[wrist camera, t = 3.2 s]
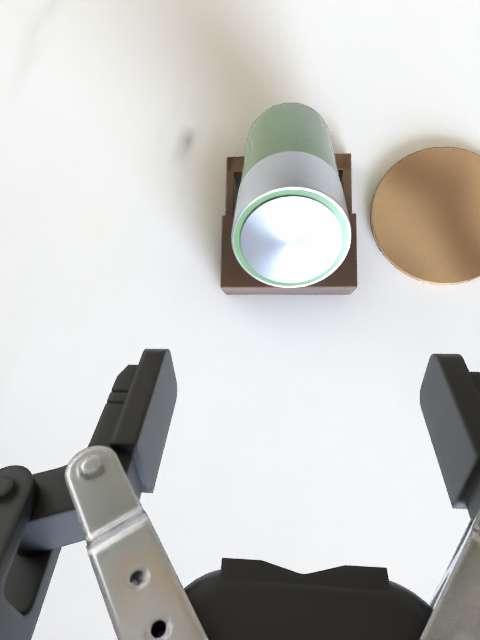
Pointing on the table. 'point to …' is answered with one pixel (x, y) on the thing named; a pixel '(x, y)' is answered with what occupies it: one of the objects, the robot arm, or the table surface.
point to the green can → (290, 200)
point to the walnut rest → (244, 283)
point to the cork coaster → (431, 215)
